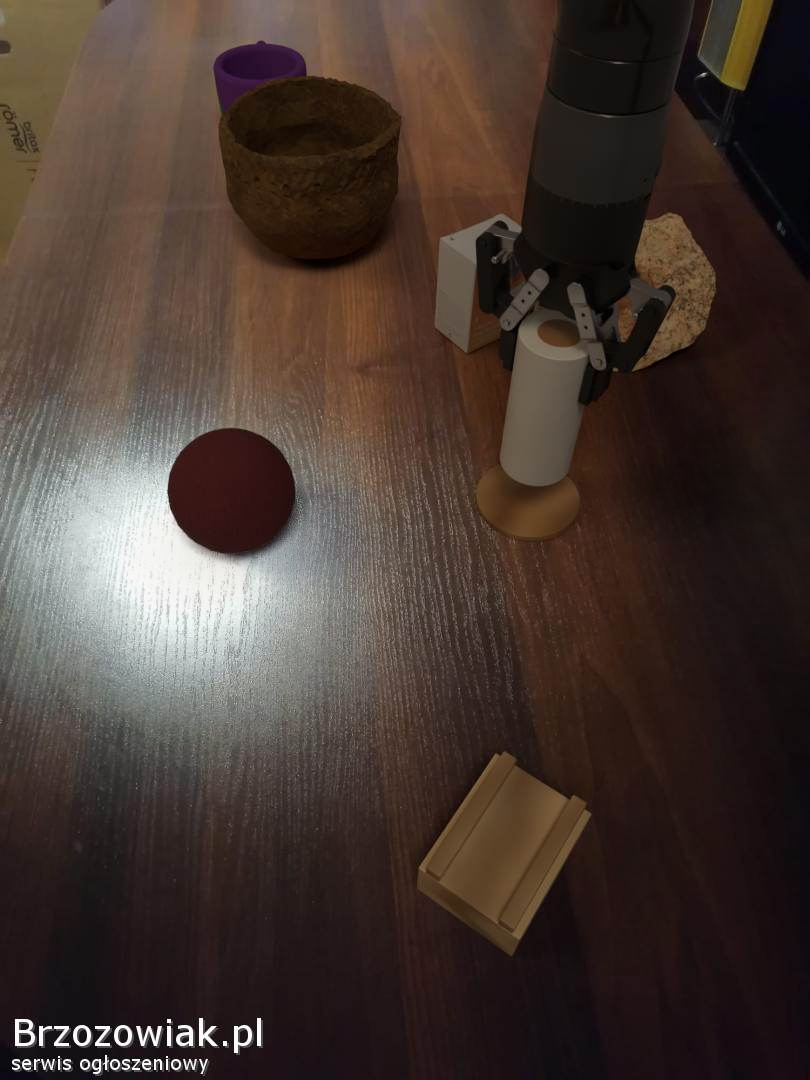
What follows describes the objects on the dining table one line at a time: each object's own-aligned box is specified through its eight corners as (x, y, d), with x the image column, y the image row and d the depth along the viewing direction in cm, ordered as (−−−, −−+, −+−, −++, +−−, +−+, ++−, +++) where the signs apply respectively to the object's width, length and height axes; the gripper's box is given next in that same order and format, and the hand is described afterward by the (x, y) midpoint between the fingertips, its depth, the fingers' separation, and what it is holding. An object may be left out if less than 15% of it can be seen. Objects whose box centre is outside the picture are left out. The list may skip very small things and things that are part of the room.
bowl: (400, 295, 93) (402, 162, 81) (226, 293, 93) (203, 159, 81) (399, 201, 105) (401, 73, 93) (245, 199, 104) (227, 70, 93)
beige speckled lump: (590, 423, 90) (591, 392, 83) (517, 322, 95) (512, 285, 88) (738, 332, 90) (752, 293, 82) (657, 235, 94) (664, 190, 87)
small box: (466, 356, 87) (474, 265, 79) (432, 327, 90) (437, 237, 81) (526, 327, 90) (540, 237, 82) (491, 300, 93) (502, 210, 84)
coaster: (596, 492, 76) (598, 487, 75) (547, 558, 71) (548, 553, 71) (508, 449, 79) (509, 444, 78) (455, 510, 74) (456, 505, 74)
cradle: (580, 836, 57) (595, 807, 53) (511, 956, 52) (521, 935, 48) (490, 777, 59) (497, 746, 55) (416, 888, 55) (418, 862, 51)
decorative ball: (304, 487, 76) (294, 401, 68) (295, 579, 69) (284, 497, 62) (190, 485, 75) (167, 400, 68) (171, 578, 69) (143, 495, 61)
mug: (312, 162, 110) (307, 81, 102) (222, 165, 109) (210, 83, 102) (309, 99, 121) (303, 21, 113) (227, 101, 120) (216, 23, 112)
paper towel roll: (615, 327, 61) (577, 370, 58) (582, 455, 72) (548, 498, 69) (544, 297, 63) (503, 338, 60) (521, 426, 74) (486, 466, 71)
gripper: (457, 153, 52) (442, 371, 65) (680, 233, 47) (614, 451, 60) (519, 106, 56) (493, 320, 69) (731, 176, 51) (659, 392, 64)
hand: (550, 380), depth 64 cm, fingers closed on paper towel roll, 5 cm apart
